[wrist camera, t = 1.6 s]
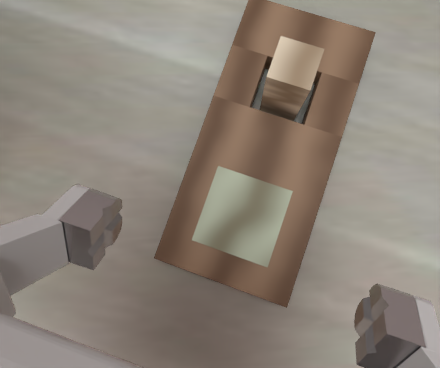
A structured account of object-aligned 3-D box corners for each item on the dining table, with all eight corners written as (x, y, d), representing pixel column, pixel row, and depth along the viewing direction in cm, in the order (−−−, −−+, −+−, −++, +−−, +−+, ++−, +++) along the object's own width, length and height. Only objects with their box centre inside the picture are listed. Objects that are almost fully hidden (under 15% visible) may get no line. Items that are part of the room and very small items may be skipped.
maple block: (259, 110, 39) (266, 76, 30) (270, 79, 39) (280, 35, 30) (293, 121, 38) (310, 90, 29) (304, 89, 39) (324, 49, 30)
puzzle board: (160, 255, 37) (153, 258, 34) (249, 12, 40) (250, -6, 37) (282, 300, 36) (287, 308, 33) (364, 47, 39) (376, 31, 36)
